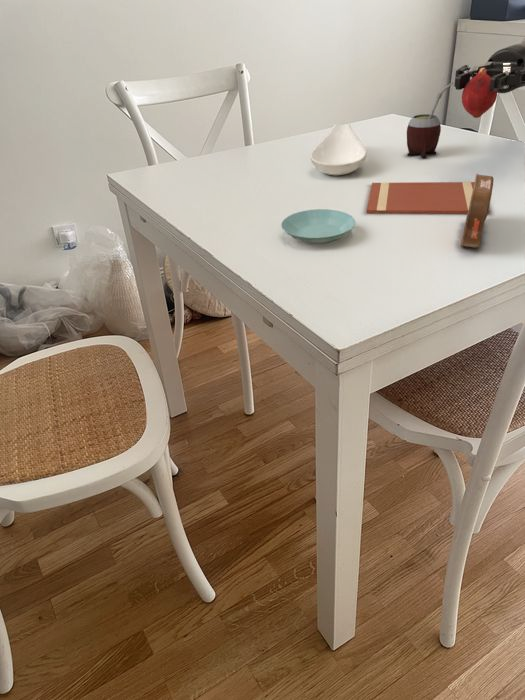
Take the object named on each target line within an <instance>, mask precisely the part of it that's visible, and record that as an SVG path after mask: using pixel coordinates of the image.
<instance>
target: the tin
mask: <svg viewBox="0 0 525 700" xmlns="http://www.w3.org/2000/svg"><path fill="white" fill-rule="evenodd" d="M473 182H474V187H473V191H472V196H471V201H470V205H469V210H468V214H466V217H465V224H464V228H463V233H462V237H461V242H460V247H466V248H475V249H476V248H479V247H480V246H481V243H482V237H483V235H482V234H483V230H484V229H483V228H484V225H485V221H486V219H487V216H488V215H489V214H488V210H489V211H490V205H491V200H492V195H493V188H494V177H493V176H492V175H486V174H485V175H484V174H478V173H476V174H475V178H474V181H473Z"/></svg>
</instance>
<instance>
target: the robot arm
mask: <svg viewBox="0 0 525 700" xmlns="http://www.w3.org/2000/svg"><path fill="white" fill-rule="evenodd" d="M481 68H485V69H486V70H487V71H486V74H487V75H489V76H490V77H491V82H490V91H496V90H497V94H508V93H510V92H513V91H514V90H517V89H519V88H522V87H525V38H523V40H522V41H521V43H515V44H513V45H512V44H511V45H509V46H506V47H504V48H501V49H499V50H497V51H495V52H494V53H493V54H491V55H490V57H489V59H488V60H487V61H486V62H485V63H483V64H478V65H474V66H473V67H472V68H471V66H470V65H468V64H464V65H462V66H460V67H459V68H457V69H456V70H455V75H454V83H453V84H454V85H453V86H454V88H455V90H456V91H460V90H464V87H465V86H466V84H467V83H468V82H469V81H470V80H471V79H472V78H473V77H474V76H476V75H477V74H478V72H479V71H480V69H481Z"/></svg>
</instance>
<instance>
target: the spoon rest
mask: <svg viewBox="0 0 525 700" xmlns="http://www.w3.org/2000/svg"><path fill="white" fill-rule="evenodd" d="M367 153H368V152H367V149H366V148H365V146H364V144H363V143H362V142H361V140H360V138H359V137H358V136H357V134H356V133H355V132H354V130H353V128H352V126H351V124H350V123H346V124H339V123H335V124H334V125H333V126H332V128H331V129H330V130H329V132H328V133H327V134H326V135H325V137H324V138H322V140H321V141H320V142H319V143H317V145H316V146H315V147H314V149H312V151H311V153H310V155H309V160H310V161H311V163H312V165H313V166H314V167H315V169H317V170H318V171H320V172H321V173H324V174H325V175H329V176H337V177H338V176H345V175H349V174H351V173H352V172H354V171H356V170H357V169H359V168H360V167H361V166H362V165H363V163H364V161H365V160H366V158H367Z"/></svg>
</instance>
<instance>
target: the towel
mask: <svg viewBox="0 0 525 700" xmlns="http://www.w3.org/2000/svg"><path fill="white" fill-rule="evenodd" d="M474 182H475V181H440V182H439V181H436V182H434V181H433V182H432V181H431V182H428V181H426V182H425V181H424V182H423V181H422V182H421V181H419V182H417V181H416V182H413V181H411V182H372V183H371V186H370V191H369V196H368V201H367V206H366V211H365V212H366V214H400V215H401V214H403V215H404V214H405V215H408V214H411V215H412V214H413V215H415V214H416V215H420V214H421V215H422V214H423V215H425V214H427V215H436V214H437V215H467V214H468V210H469V205H470V201H471V196H472V191H473V187H474ZM489 213H490V209H489V210H488V214H487V215H489Z"/></svg>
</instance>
